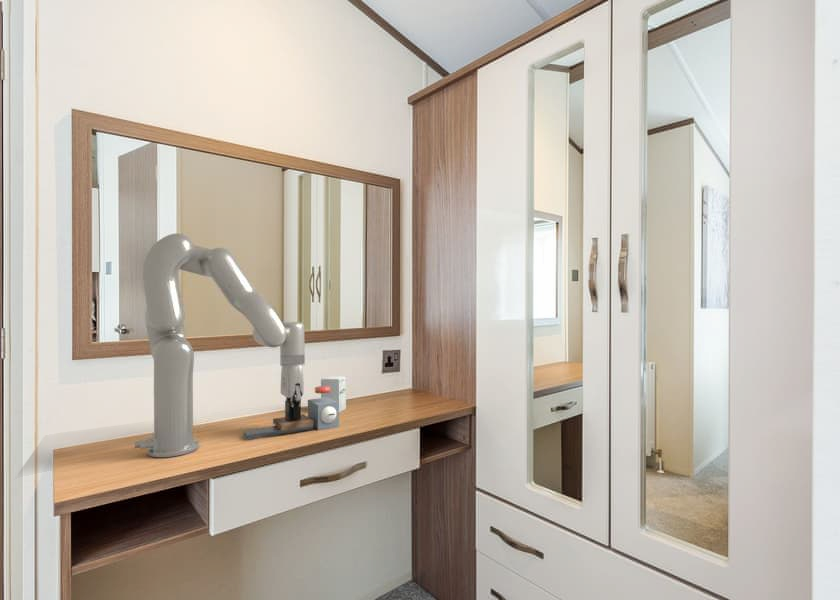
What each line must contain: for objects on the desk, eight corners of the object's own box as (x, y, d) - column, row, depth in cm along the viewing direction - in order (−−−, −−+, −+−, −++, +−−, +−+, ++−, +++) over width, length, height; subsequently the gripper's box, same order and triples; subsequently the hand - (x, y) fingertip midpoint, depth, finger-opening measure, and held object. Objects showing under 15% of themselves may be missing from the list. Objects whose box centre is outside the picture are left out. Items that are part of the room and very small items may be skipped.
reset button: (318, 394, 145) (318, 389, 145) (312, 391, 149) (312, 387, 149) (332, 392, 148) (332, 387, 148) (327, 389, 152) (327, 385, 152)
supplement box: (339, 413, 164) (339, 379, 164) (320, 412, 165) (320, 378, 166) (346, 408, 171) (346, 375, 171) (328, 408, 173) (328, 375, 173)
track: (247, 440, 133) (247, 435, 133) (243, 435, 138) (243, 430, 138) (313, 429, 143) (313, 424, 143) (306, 425, 148) (306, 420, 148)
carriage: (281, 430, 136) (281, 405, 136) (273, 423, 144) (272, 400, 145) (313, 425, 141) (313, 401, 141) (303, 418, 150) (303, 396, 150)
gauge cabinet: (318, 430, 142) (318, 405, 142) (307, 423, 151) (307, 399, 151) (339, 427, 146) (339, 402, 146) (327, 420, 154) (327, 397, 154)
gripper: (273, 359, 148) (274, 414, 148) (288, 364, 134) (288, 425, 134) (296, 357, 152) (296, 411, 152) (312, 362, 138) (313, 421, 138)
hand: (293, 417), depth 143 cm, fingers closed on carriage, 3 cm apart
